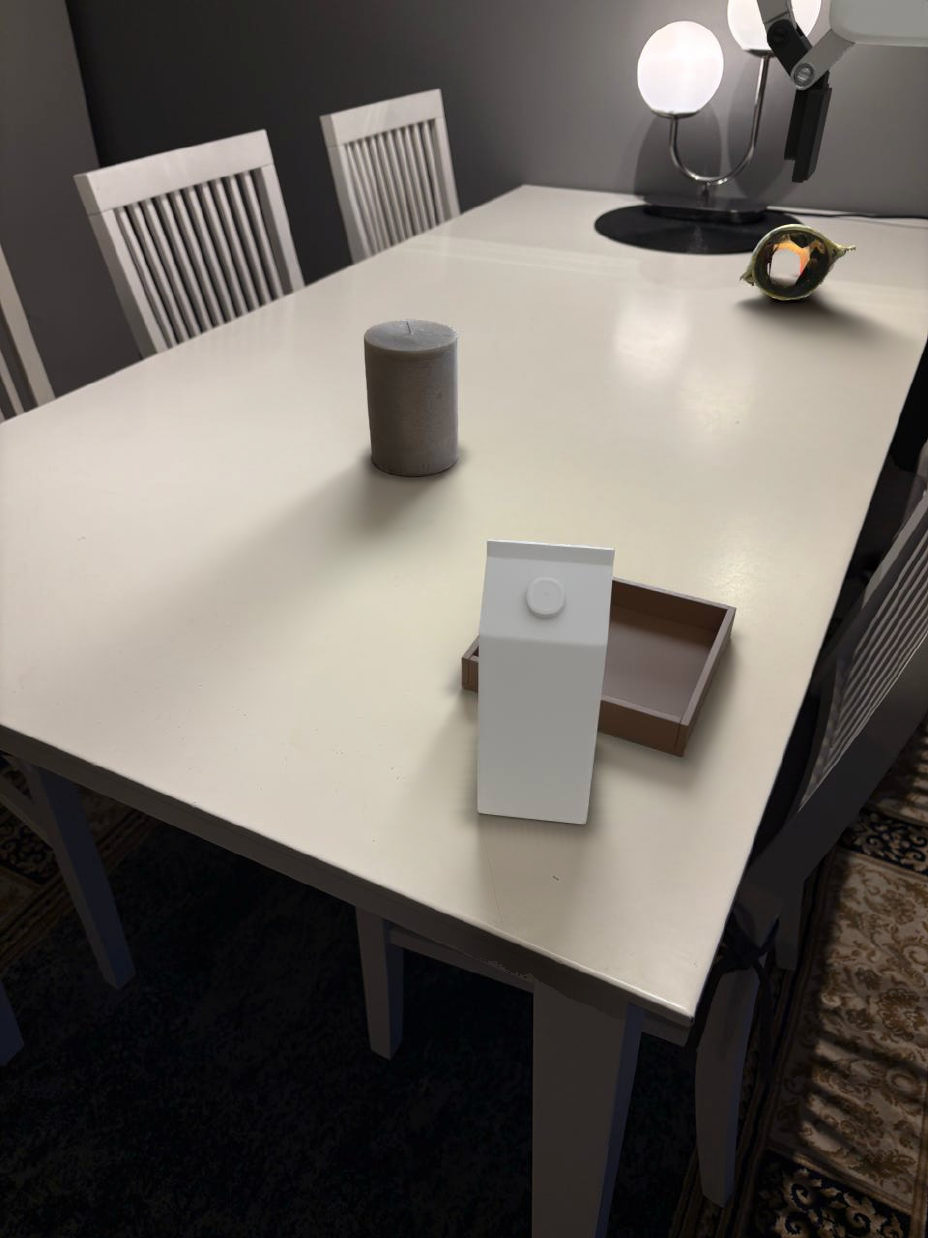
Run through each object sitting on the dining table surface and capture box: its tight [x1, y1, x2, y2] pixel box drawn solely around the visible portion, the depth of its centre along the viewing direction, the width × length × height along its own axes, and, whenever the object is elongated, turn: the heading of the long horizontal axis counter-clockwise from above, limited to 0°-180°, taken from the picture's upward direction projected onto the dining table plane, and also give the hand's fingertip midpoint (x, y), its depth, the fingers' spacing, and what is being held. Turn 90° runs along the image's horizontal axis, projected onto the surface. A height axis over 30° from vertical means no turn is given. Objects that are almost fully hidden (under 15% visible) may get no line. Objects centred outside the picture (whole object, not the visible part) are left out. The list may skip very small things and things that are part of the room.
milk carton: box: [476, 538, 616, 825], centre depth 56 cm, size 7×7×19 cm
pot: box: [738, 223, 858, 301], centre depth 145 cm, size 17×11×18 cm
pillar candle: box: [363, 318, 459, 477], centre depth 96 cm, size 10×10×15 cm
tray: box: [461, 575, 738, 758], centre depth 71 cm, size 17×15×3 cm
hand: (904, 186), depth 44 cm, fingers open, 9 cm apart
